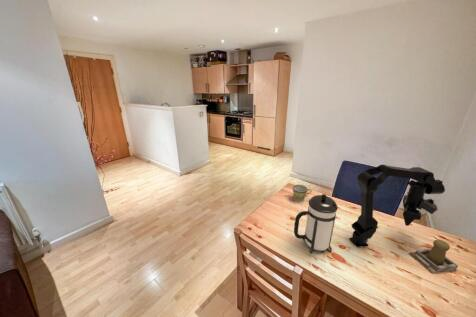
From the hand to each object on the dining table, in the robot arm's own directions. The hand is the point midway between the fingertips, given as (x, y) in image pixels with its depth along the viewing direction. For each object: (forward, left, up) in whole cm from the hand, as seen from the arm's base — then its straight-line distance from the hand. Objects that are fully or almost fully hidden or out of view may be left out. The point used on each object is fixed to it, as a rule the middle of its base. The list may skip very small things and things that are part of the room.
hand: (406, 220), depth 100 cm
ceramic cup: (-35, +45, -13) cm, 59 cm away
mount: (+3, -14, -13) cm, 19 cm away
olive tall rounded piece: (+4, -14, -12) cm, 19 cm away
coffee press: (-46, +3, -13) cm, 48 cm away
